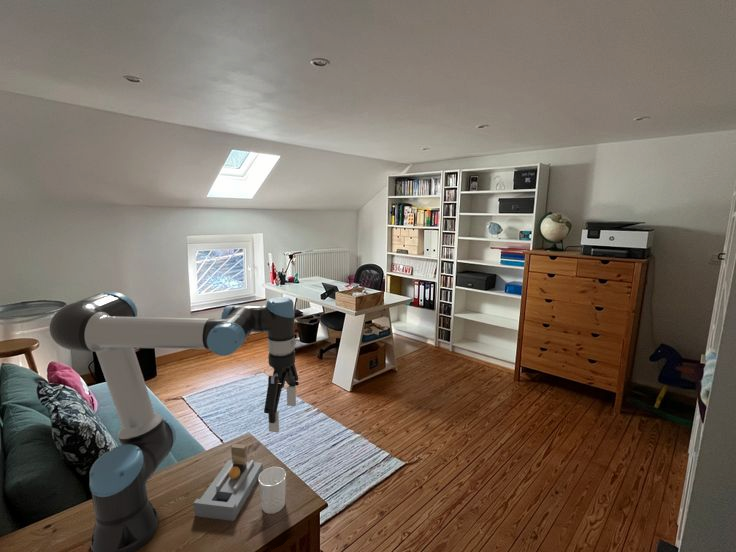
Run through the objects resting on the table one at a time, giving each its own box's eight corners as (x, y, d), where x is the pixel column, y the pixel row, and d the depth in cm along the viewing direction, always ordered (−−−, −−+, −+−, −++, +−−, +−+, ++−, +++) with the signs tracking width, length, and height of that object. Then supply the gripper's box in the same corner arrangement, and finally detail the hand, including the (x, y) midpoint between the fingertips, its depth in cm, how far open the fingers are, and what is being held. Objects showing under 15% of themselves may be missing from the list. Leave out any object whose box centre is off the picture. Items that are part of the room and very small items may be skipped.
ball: (226, 481, 114) (226, 471, 113) (232, 473, 117) (231, 463, 116) (237, 482, 113) (236, 472, 113) (242, 474, 117) (241, 464, 116)
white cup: (280, 518, 104) (278, 488, 102) (255, 513, 106) (253, 483, 104) (291, 496, 112) (290, 468, 110) (267, 492, 113) (266, 464, 111)
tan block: (235, 466, 120) (233, 443, 118) (247, 467, 119) (246, 445, 118) (232, 470, 118) (230, 447, 116) (244, 472, 117) (243, 449, 116)
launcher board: (229, 467, 124) (228, 455, 123) (262, 470, 122) (262, 459, 122) (194, 516, 104) (193, 502, 104) (234, 520, 103) (233, 507, 102)
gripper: (276, 371, 91) (278, 445, 95) (307, 336, 116) (308, 397, 120) (248, 368, 93) (252, 442, 97) (285, 335, 117) (286, 395, 121)
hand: (283, 417), depth 108 cm, fingers open, 13 cm apart
